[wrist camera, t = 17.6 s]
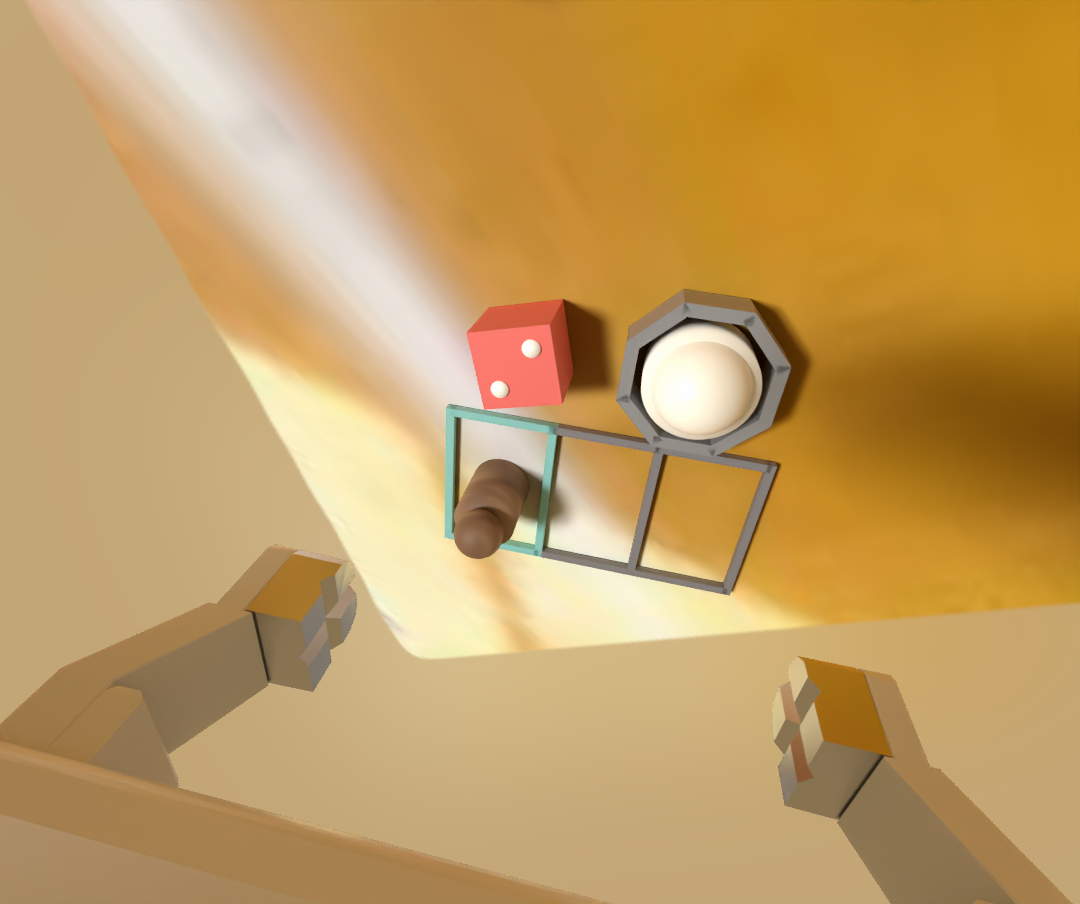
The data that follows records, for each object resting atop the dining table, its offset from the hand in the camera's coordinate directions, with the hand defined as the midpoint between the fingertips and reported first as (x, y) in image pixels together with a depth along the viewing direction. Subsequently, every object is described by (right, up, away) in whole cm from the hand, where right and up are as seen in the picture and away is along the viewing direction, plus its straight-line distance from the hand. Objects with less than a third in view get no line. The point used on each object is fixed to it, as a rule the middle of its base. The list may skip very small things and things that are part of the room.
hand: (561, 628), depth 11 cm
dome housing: (+10, +9, +27) cm, 30 cm away
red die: (-1, +11, +28) cm, 30 cm away
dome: (+10, +9, +27) cm, 30 cm away
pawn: (-3, +1, +35) cm, 35 cm away
